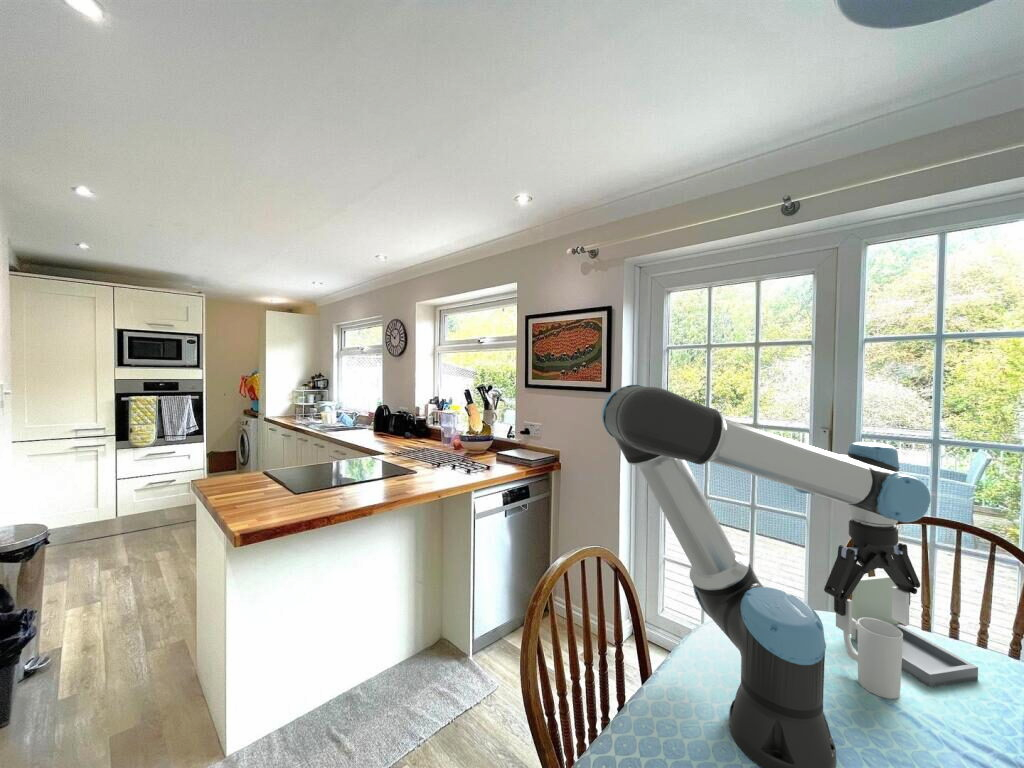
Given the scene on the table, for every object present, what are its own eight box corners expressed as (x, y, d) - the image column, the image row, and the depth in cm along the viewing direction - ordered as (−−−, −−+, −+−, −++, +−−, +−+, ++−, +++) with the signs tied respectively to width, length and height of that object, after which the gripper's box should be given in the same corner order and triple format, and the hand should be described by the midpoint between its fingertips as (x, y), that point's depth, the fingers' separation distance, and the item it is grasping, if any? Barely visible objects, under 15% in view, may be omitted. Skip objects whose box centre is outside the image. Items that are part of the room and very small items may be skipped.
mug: (910, 696, 81) (912, 634, 81) (886, 704, 79) (887, 640, 79) (855, 662, 91) (856, 606, 90) (831, 668, 89) (832, 611, 88)
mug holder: (929, 687, 83) (931, 617, 83) (851, 637, 99) (852, 578, 99) (977, 679, 85) (979, 611, 85) (893, 632, 101) (894, 574, 101)
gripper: (837, 532, 78) (837, 645, 79) (945, 522, 83) (944, 629, 83) (802, 519, 86) (802, 622, 86) (903, 510, 90) (903, 608, 91)
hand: (872, 625), depth 85 cm, fingers open, 13 cm apart
